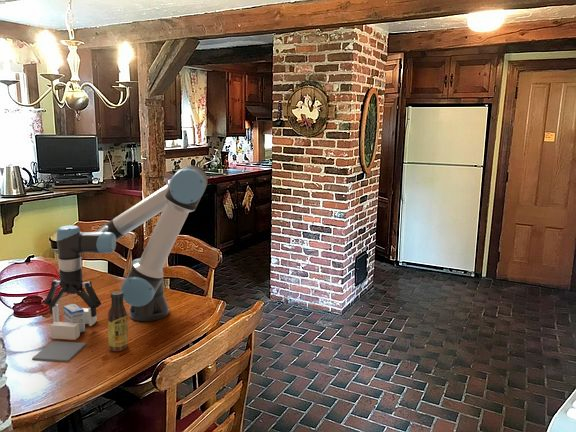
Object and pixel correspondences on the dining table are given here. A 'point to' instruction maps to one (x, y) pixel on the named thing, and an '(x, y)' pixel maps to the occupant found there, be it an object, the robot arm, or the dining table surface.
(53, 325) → the slot stand
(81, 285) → the robot arm
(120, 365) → the dining table surface
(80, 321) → the medicine box
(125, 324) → the sauce bottle
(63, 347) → the rubber mat
